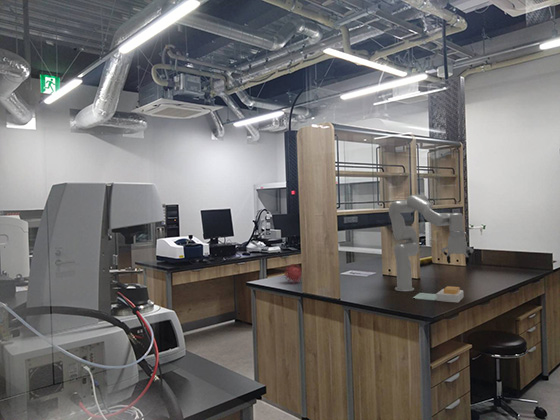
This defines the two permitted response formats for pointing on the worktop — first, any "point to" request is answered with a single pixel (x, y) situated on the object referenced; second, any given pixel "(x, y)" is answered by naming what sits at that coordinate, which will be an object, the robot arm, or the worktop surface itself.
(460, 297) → the platform
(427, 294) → the mat
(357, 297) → the worktop surface
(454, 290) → the slide box
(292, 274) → the virus model
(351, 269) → the worktop surface
